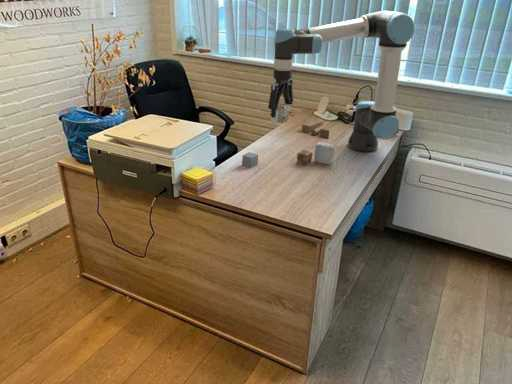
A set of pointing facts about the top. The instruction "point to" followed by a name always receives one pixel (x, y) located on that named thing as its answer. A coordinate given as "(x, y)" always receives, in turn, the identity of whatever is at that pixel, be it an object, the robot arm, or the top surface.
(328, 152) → the medicine box
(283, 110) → the game die
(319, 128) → the wooden block set
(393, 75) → the robot arm
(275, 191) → the top surface
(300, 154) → the walnut cube
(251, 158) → the slate grey cube
